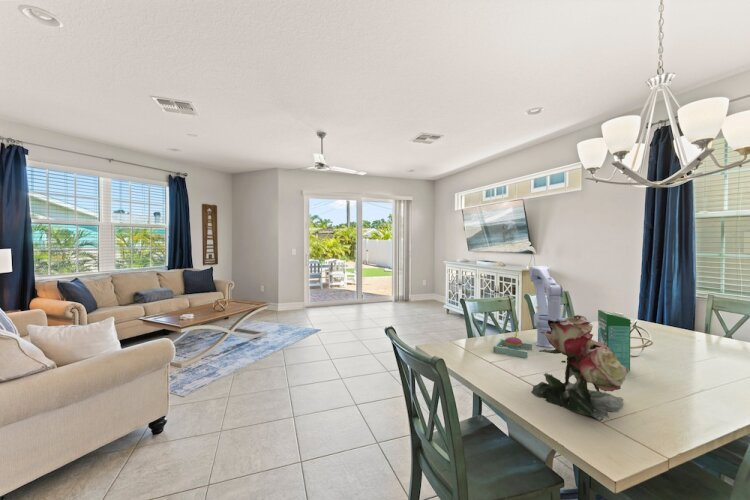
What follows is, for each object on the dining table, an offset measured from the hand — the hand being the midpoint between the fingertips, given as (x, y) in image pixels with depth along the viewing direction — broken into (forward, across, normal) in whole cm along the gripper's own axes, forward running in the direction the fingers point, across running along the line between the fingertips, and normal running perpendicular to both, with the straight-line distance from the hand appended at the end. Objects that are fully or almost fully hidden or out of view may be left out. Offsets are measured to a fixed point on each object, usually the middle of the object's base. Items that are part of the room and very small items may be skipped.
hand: (554, 335), depth 165 cm
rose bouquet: (+10, +14, -46) cm, 49 cm away
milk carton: (+10, +24, -4) cm, 26 cm away
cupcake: (+10, -18, -5) cm, 21 cm away
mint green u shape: (+9, -18, -5) cm, 21 cm away
